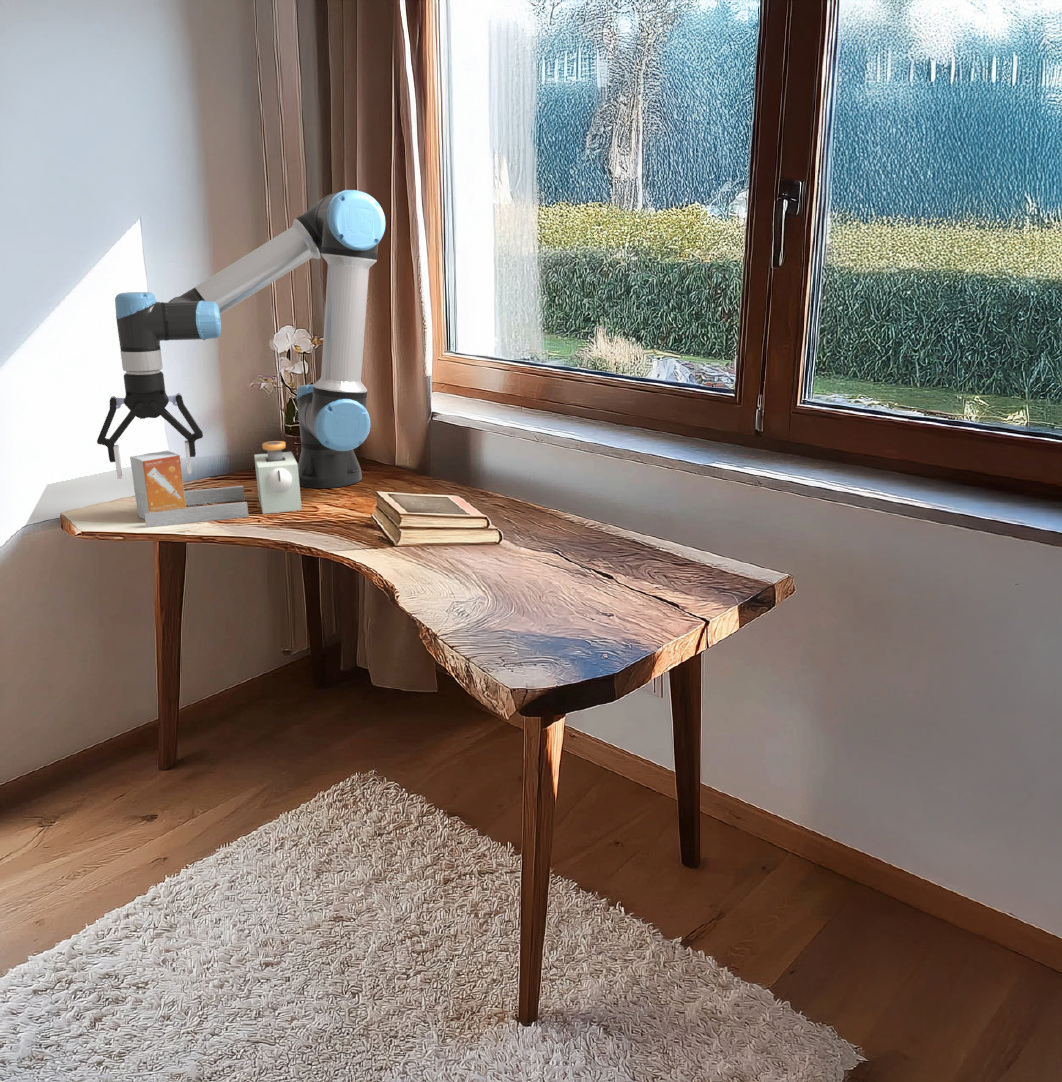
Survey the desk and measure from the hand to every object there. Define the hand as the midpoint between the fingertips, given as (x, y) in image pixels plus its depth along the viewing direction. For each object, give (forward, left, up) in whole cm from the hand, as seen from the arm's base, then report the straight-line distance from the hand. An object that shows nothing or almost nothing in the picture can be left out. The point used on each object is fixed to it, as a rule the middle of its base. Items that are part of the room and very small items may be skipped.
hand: (155, 475), depth 203 cm
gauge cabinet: (-24, 0, -9) cm, 26 cm away
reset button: (-24, 0, -1) cm, 24 cm away
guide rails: (-7, 0, -9) cm, 11 cm away
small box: (0, 0, -9) cm, 9 cm away
